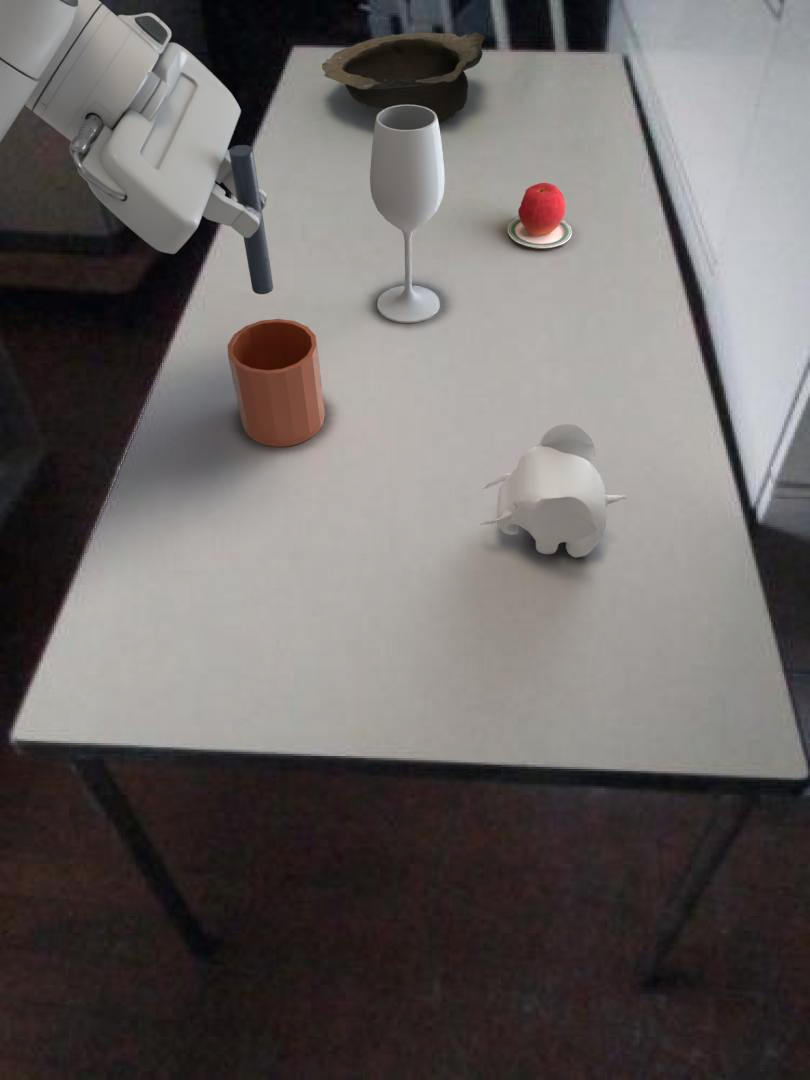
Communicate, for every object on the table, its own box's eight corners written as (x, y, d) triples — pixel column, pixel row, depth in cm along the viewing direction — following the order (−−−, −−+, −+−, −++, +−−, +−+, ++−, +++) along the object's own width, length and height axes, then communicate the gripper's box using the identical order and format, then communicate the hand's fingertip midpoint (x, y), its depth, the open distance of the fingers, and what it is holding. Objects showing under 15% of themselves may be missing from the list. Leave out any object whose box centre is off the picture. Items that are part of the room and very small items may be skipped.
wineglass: (401, 279, 102) (397, 94, 86) (454, 300, 99) (461, 113, 83) (362, 309, 98) (351, 122, 82) (416, 332, 95) (416, 142, 79)
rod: (258, 297, 73) (234, 157, 63) (248, 287, 74) (225, 148, 64) (277, 290, 73) (256, 151, 64) (267, 280, 74) (246, 142, 65)
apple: (523, 256, 105) (528, 206, 100) (497, 224, 110) (501, 175, 105) (582, 244, 106) (590, 194, 101) (554, 213, 111) (560, 164, 106)
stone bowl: (491, 137, 125) (490, 70, 118) (322, 151, 127) (312, 86, 120) (482, 67, 141) (481, 4, 134) (333, 81, 143) (324, 20, 136)
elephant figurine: (482, 487, 79) (488, 413, 72) (613, 497, 78) (632, 423, 71) (475, 566, 73) (481, 494, 66) (618, 578, 72) (638, 507, 65)
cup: (264, 458, 82) (250, 384, 75) (229, 410, 87) (213, 337, 80) (339, 427, 85) (332, 353, 78) (301, 382, 89) (291, 309, 82)
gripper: (85, 121, 53) (263, 264, 60) (159, 4, 66) (298, 133, 73) (38, 190, 56) (212, 317, 63) (118, 66, 70) (254, 183, 77)
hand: (258, 217), depth 68 cm, fingers closed on rod, 2 cm apart
